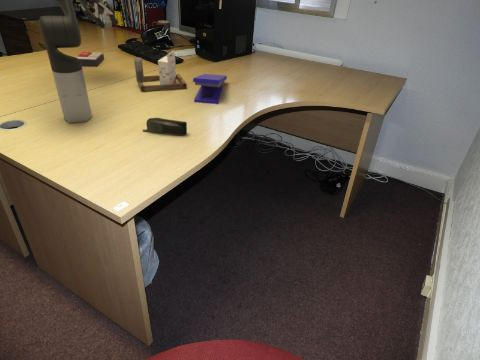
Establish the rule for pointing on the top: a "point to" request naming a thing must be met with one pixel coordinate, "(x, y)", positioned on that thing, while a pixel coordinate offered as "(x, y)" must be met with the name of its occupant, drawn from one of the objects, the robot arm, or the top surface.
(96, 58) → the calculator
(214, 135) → the top surface
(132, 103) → the top surface
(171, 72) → the ink cartridge box
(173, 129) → the black desk stapler
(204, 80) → the stapler
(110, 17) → the robot arm
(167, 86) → the rectangular wooden frame
